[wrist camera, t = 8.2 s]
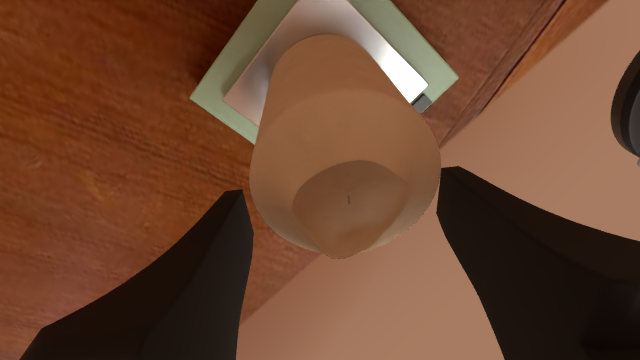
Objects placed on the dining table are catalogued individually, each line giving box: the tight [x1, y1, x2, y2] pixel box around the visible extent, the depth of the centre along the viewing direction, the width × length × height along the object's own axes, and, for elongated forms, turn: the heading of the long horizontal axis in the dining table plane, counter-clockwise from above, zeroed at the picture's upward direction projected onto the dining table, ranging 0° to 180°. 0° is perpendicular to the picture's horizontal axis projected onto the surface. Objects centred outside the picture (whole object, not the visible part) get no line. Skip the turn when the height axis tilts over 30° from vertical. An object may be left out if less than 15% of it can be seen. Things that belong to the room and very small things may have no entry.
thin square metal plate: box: [222, 0, 429, 127], centre depth 17 cm, size 7×7×1 cm
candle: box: [249, 34, 441, 259], centre depth 13 cm, size 6×6×10 cm
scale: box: [189, 0, 459, 145], centre depth 19 cm, size 10×10×2 cm
